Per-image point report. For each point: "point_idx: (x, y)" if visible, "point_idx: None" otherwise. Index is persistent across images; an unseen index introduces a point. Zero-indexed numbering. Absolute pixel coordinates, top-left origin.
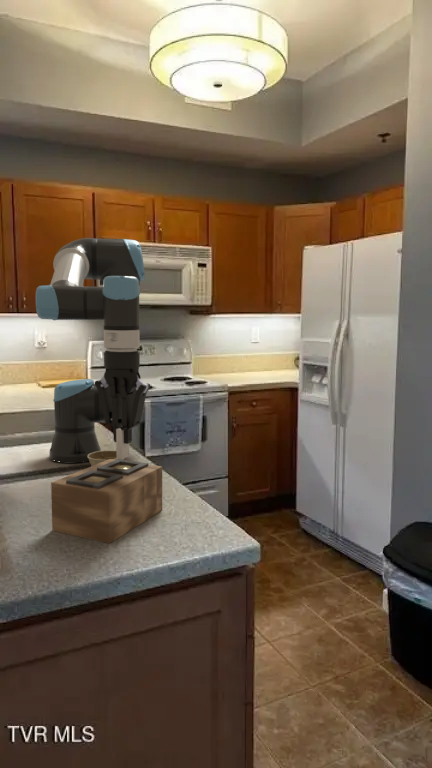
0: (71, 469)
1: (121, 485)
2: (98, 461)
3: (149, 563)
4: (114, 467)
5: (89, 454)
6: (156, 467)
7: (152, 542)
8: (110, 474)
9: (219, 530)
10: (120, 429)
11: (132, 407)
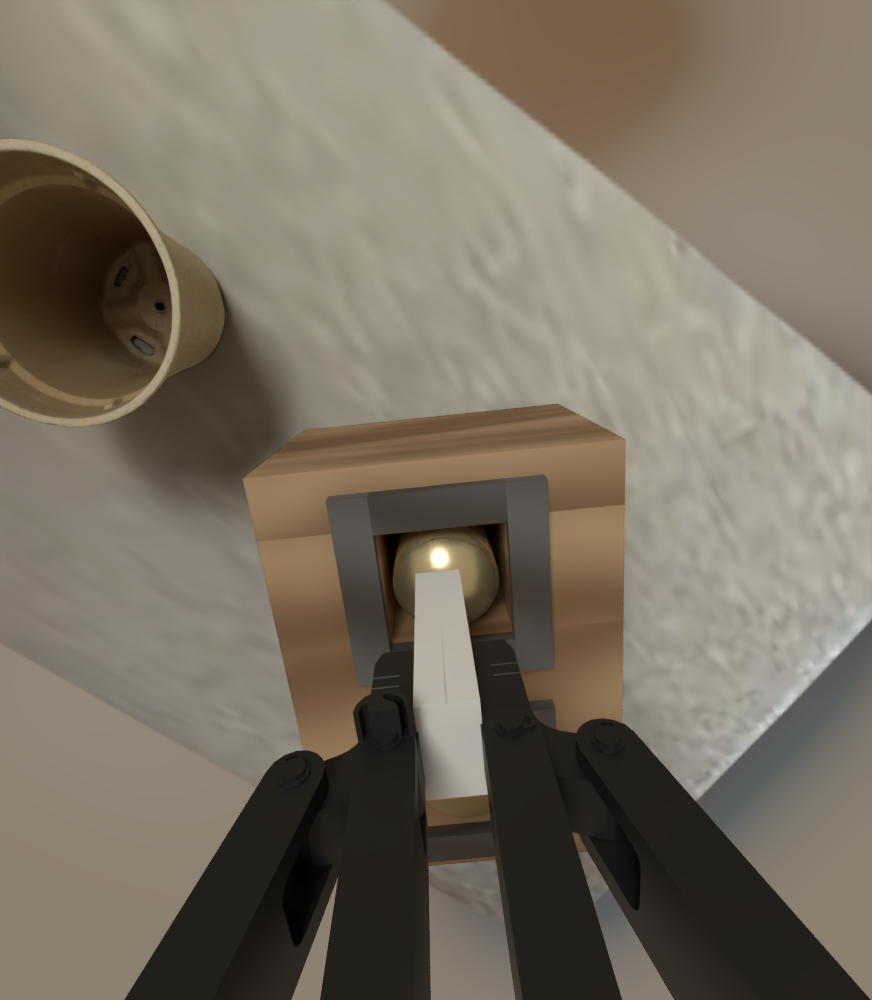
0: None
1: None
2: (108, 411)
3: (730, 735)
4: (404, 605)
5: None
6: (603, 472)
7: (675, 642)
8: None
9: (844, 460)
10: (468, 792)
11: (603, 941)
